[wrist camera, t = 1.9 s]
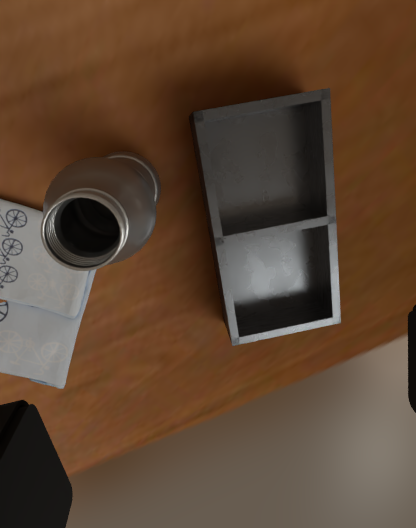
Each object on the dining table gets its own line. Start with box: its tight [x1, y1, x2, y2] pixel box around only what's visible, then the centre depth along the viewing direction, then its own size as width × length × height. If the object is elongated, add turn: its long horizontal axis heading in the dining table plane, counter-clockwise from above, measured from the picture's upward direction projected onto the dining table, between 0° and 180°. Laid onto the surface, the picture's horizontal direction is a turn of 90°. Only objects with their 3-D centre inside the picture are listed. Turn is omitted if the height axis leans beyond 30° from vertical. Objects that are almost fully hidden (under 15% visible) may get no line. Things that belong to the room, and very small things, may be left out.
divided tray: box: [189, 88, 341, 346], centre depth 35 cm, size 22×12×5 cm, turn 9°
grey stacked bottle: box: [41, 151, 161, 271], centre depth 25 cm, size 6×7×20 cm
